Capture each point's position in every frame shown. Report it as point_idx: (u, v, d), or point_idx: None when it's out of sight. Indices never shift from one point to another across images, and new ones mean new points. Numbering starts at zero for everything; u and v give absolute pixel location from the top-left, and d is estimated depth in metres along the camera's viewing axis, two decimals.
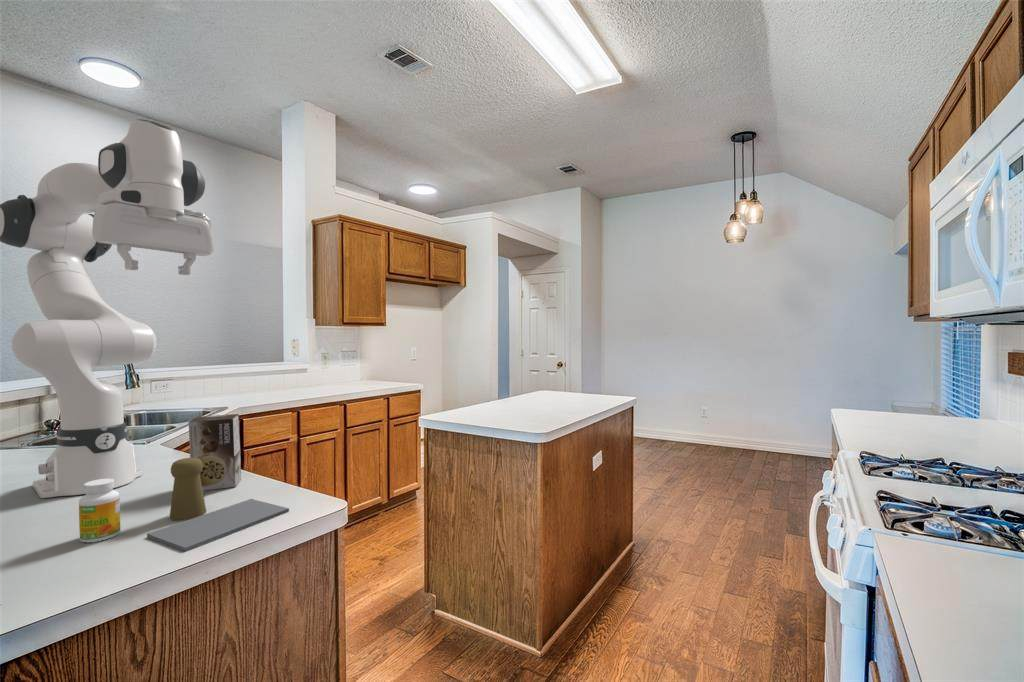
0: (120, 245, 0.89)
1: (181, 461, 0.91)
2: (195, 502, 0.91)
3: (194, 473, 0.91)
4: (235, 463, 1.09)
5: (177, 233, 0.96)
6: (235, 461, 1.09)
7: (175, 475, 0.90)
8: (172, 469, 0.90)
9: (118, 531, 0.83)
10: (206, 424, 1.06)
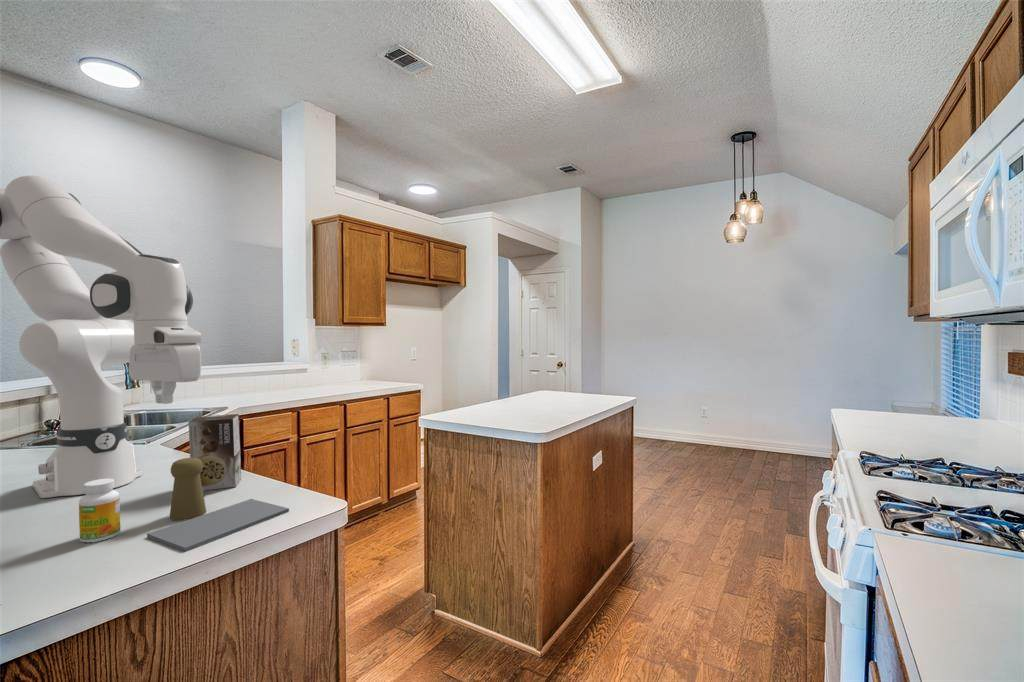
0: (171, 381, 0.94)
1: (181, 461, 0.91)
2: (195, 502, 0.91)
3: (194, 473, 0.91)
4: (235, 463, 1.09)
5: None
6: (235, 461, 1.09)
7: (175, 475, 0.90)
8: (172, 469, 0.90)
9: (118, 531, 0.83)
10: (206, 424, 1.06)
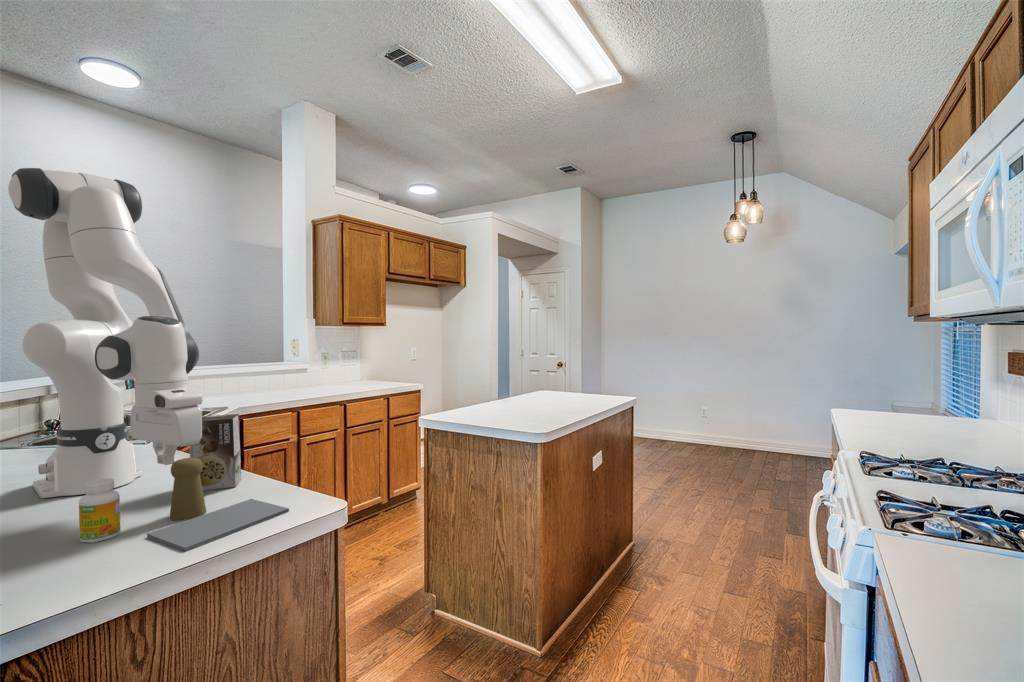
0: None
1: (181, 461, 0.91)
2: (195, 502, 0.91)
3: (194, 473, 0.91)
4: (235, 463, 1.09)
5: None
6: (235, 461, 1.09)
7: (175, 475, 0.90)
8: (172, 469, 0.90)
9: (118, 531, 0.83)
10: (206, 424, 1.06)
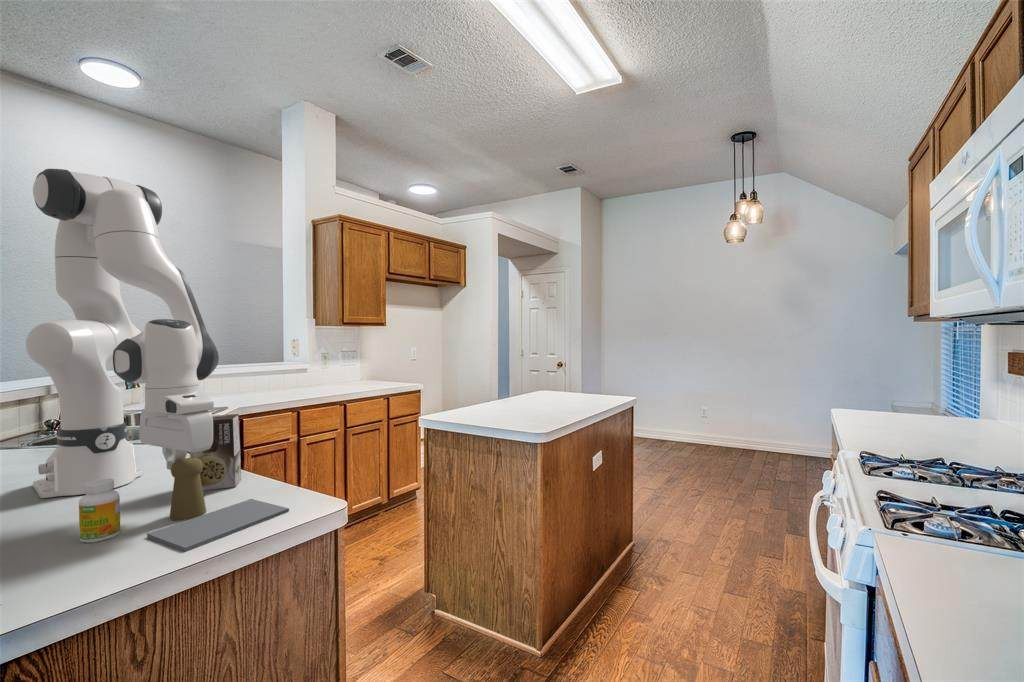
0: None
1: (181, 461, 0.91)
2: (195, 502, 0.91)
3: (194, 473, 0.91)
4: (235, 463, 1.09)
5: None
6: (235, 461, 1.09)
7: (175, 475, 0.90)
8: (172, 469, 0.90)
9: (118, 531, 0.83)
10: None
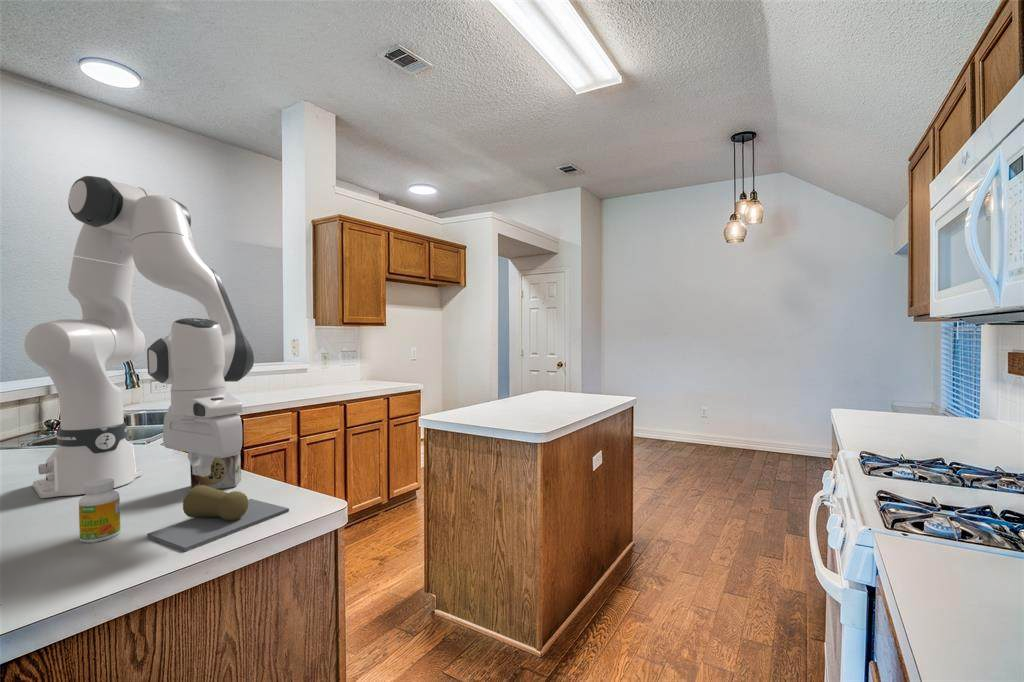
0: None
1: (233, 511, 0.86)
2: None
3: None
4: (235, 463, 1.09)
5: None
6: (235, 461, 1.09)
7: (218, 511, 0.86)
8: (222, 508, 0.85)
9: (118, 531, 0.83)
10: None
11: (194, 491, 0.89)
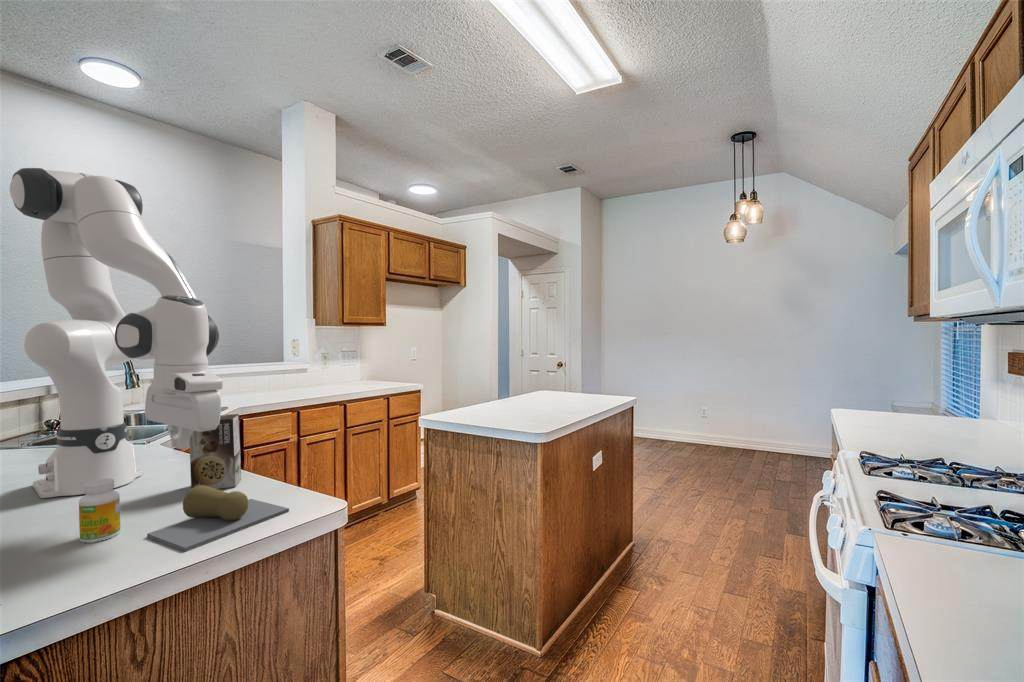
0: None
1: (233, 511, 0.86)
2: None
3: None
4: (235, 463, 1.09)
5: None
6: (235, 461, 1.09)
7: (218, 511, 0.86)
8: (222, 508, 0.85)
9: (118, 531, 0.83)
10: None
11: (194, 491, 0.89)
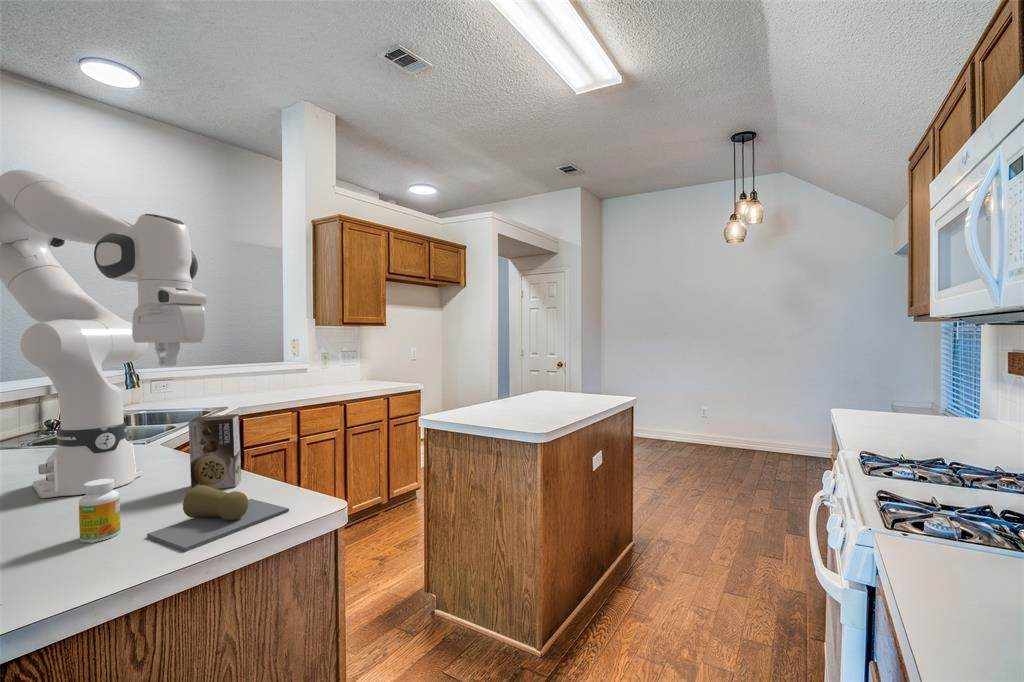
0: (175, 343, 0.93)
1: (233, 511, 0.86)
2: None
3: None
4: (235, 463, 1.09)
5: None
6: (235, 461, 1.09)
7: (218, 511, 0.86)
8: (222, 508, 0.85)
9: (118, 531, 0.83)
10: (206, 424, 1.06)
11: (194, 491, 0.89)
